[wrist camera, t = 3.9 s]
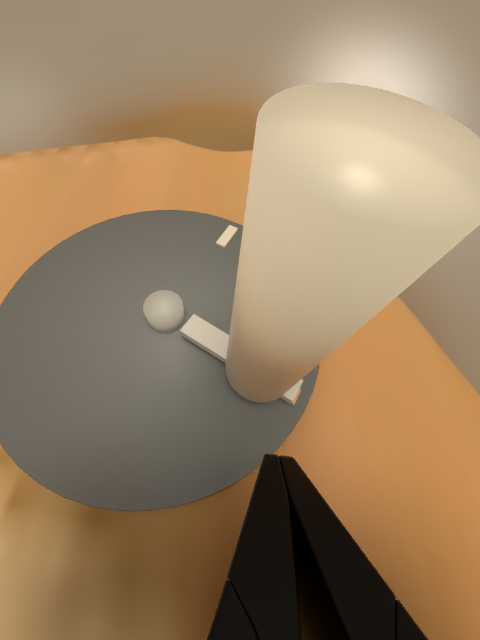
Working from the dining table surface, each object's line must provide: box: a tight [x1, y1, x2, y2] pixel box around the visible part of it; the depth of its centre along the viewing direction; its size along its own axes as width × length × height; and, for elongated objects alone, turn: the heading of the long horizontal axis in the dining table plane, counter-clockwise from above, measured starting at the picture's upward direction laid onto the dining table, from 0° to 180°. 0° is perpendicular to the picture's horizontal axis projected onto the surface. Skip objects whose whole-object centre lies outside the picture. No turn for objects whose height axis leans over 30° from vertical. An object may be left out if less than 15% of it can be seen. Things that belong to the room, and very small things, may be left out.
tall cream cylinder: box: [180, 83, 480, 404], centre depth 10 cm, size 8×4×13 cm, turn 58°
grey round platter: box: [0, 210, 319, 511], centre depth 17 cm, size 21×21×2 cm
